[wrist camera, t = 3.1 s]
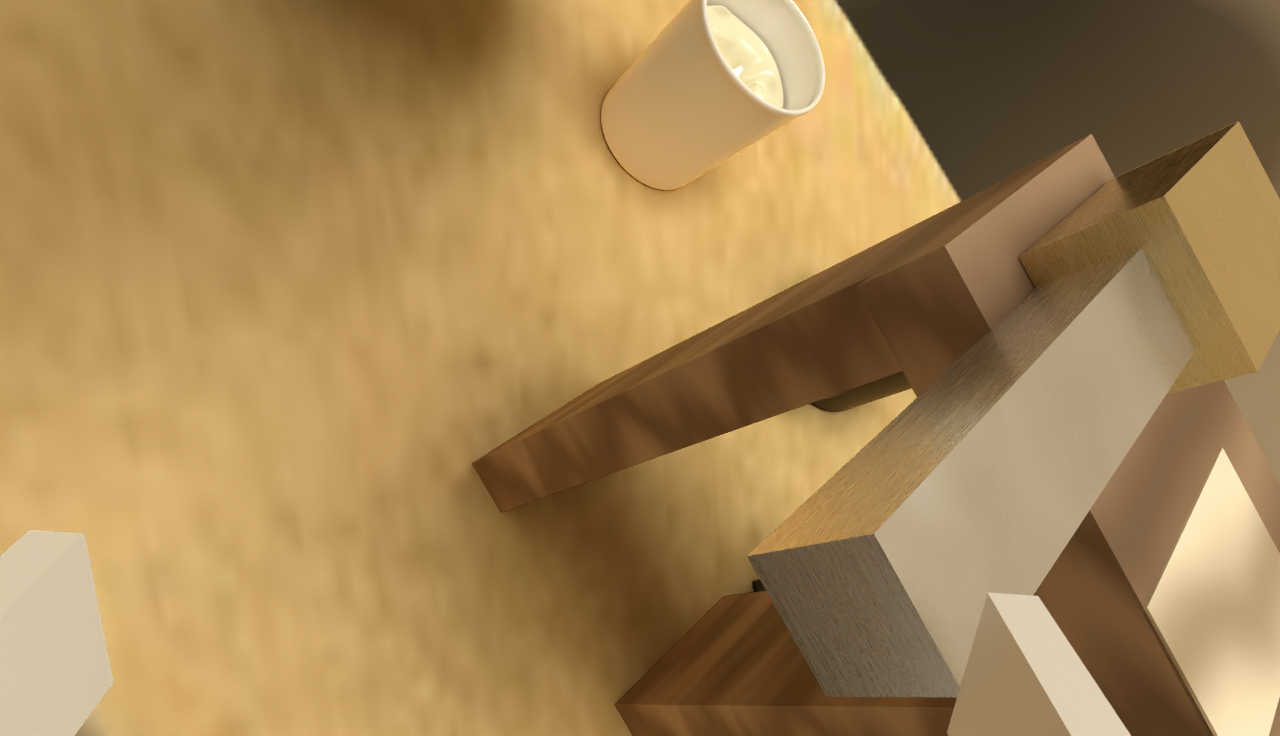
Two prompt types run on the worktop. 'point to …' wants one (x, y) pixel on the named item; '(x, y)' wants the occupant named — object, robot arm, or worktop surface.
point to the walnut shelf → (923, 349)
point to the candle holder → (712, 88)
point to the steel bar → (1030, 422)
